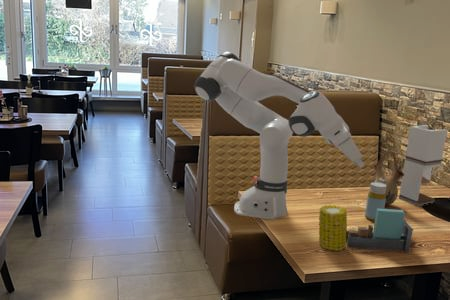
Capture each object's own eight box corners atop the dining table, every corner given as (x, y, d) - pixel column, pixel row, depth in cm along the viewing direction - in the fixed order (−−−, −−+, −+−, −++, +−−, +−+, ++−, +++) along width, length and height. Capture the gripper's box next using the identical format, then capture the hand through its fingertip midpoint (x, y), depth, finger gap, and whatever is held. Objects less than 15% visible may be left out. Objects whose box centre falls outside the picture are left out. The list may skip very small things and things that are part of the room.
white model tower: (418, 206, 197) (431, 131, 188) (398, 198, 206) (410, 126, 197) (434, 202, 202) (447, 129, 194) (414, 195, 211) (426, 125, 203)
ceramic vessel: (404, 209, 193) (413, 155, 186) (390, 212, 188) (399, 156, 182) (375, 196, 206) (382, 146, 200) (362, 199, 202) (369, 147, 196)
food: (338, 258, 148) (312, 249, 154) (354, 241, 156) (329, 233, 162) (336, 220, 142) (310, 213, 149) (353, 204, 150) (327, 197, 156)
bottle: (383, 222, 176) (388, 188, 173) (365, 220, 178) (370, 186, 174) (381, 216, 183) (386, 182, 179) (364, 214, 184) (368, 180, 180)
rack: (348, 248, 152) (351, 225, 150) (343, 238, 160) (346, 216, 157) (408, 253, 151) (412, 229, 149) (401, 243, 159) (404, 220, 156)
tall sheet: (373, 247, 154) (378, 210, 151) (371, 244, 156) (376, 208, 153) (398, 249, 154) (404, 212, 150) (396, 246, 156) (402, 210, 153)
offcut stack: (348, 245, 155) (350, 225, 153) (346, 242, 157) (349, 223, 155) (370, 246, 154) (373, 227, 152) (368, 244, 156) (371, 225, 155)
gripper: (322, 130, 159) (344, 159, 161) (333, 144, 139) (358, 176, 141) (336, 120, 157) (358, 148, 160) (350, 132, 138) (374, 165, 140)
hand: (358, 162), depth 151 cm, fingers open, 8 cm apart
